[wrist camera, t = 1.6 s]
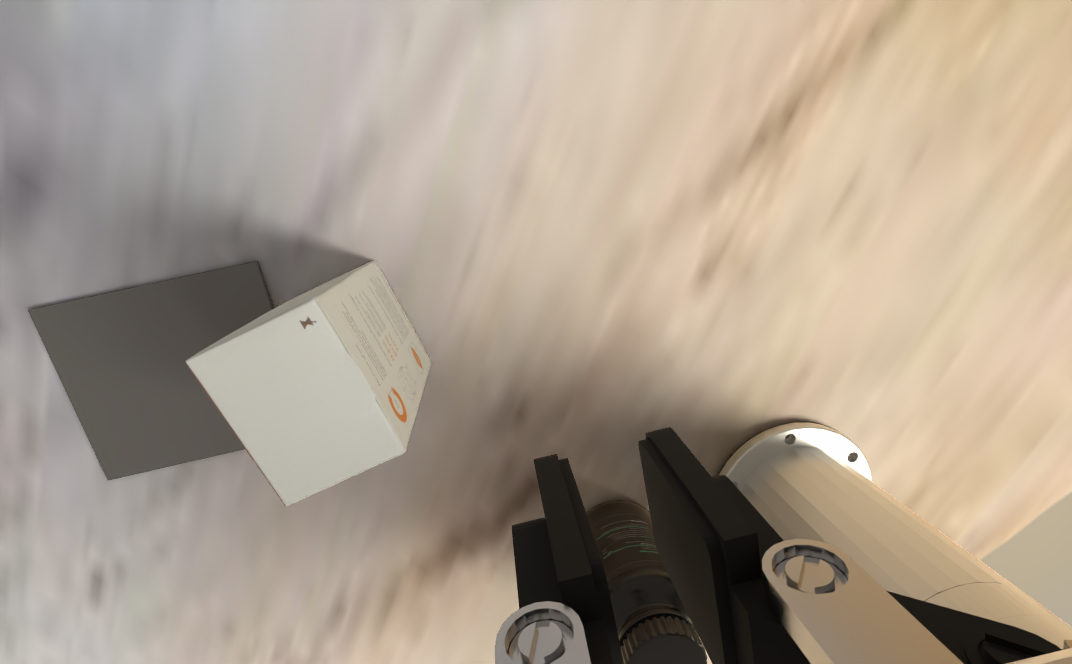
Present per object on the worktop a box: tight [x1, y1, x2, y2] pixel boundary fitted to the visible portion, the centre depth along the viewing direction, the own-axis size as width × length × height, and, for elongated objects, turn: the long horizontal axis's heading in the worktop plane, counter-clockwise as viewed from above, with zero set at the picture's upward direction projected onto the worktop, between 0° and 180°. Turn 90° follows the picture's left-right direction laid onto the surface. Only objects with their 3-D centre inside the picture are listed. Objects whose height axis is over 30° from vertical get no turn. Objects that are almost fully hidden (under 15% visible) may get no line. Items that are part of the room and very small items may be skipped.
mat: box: [28, 261, 274, 480], centre depth 35 cm, size 12×14×1 cm
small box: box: [186, 260, 432, 506], centre depth 29 cm, size 8×6×13 cm
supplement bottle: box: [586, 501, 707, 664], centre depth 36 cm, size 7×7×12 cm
